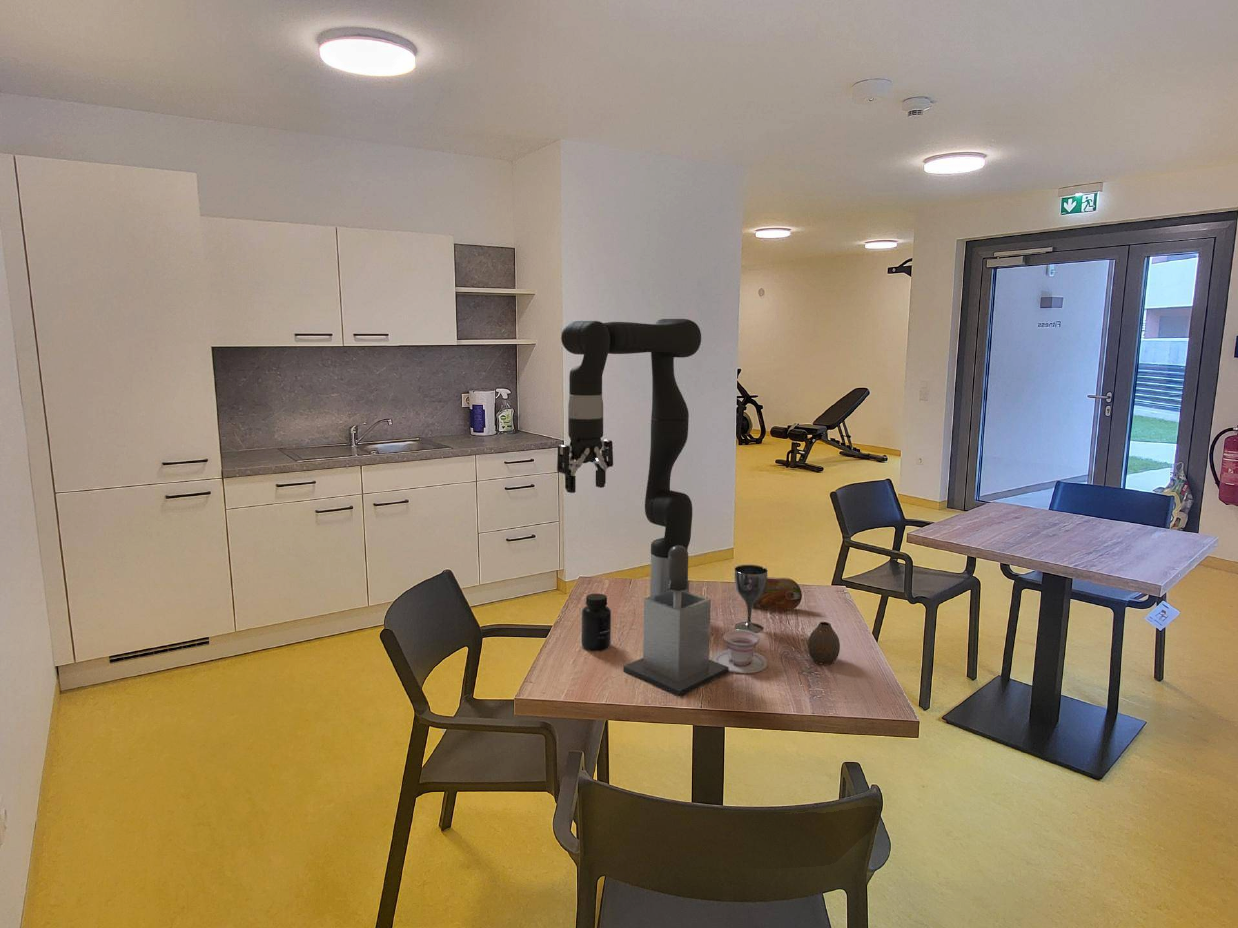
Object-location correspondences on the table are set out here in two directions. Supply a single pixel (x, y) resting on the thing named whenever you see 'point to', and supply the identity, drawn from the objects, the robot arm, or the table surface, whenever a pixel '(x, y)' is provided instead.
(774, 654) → the table surface
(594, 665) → the table surface
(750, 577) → the wine glass
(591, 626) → the supplement bottle
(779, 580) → the tin
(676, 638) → the square planter box
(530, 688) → the table surface
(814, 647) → the vase
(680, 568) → the screwdriver
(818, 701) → the table surface
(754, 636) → the teacup
